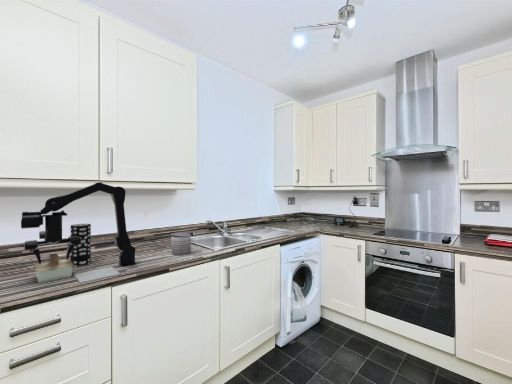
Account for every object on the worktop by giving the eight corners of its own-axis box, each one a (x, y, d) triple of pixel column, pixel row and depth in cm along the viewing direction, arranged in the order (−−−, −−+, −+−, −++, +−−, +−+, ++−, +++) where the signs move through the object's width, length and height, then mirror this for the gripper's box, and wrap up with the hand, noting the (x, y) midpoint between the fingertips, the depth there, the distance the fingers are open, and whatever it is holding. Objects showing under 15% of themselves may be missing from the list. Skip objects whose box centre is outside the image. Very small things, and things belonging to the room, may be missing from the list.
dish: (67, 270, 115) (67, 260, 115) (71, 276, 107) (71, 266, 107) (35, 276, 107) (35, 266, 107) (38, 283, 99) (38, 272, 99)
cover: (68, 260, 115) (68, 250, 115) (73, 266, 107) (73, 255, 107) (34, 266, 107) (34, 255, 107) (36, 272, 98) (36, 260, 98)
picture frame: (111, 267, 119) (111, 266, 119) (120, 274, 110) (120, 273, 110) (74, 275, 108) (74, 274, 108) (80, 283, 99) (80, 282, 99)
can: (176, 250, 153) (176, 231, 153) (194, 251, 152) (194, 232, 152) (167, 255, 142) (167, 234, 142) (186, 256, 140) (186, 235, 140)
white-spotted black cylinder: (94, 261, 129) (94, 223, 129) (83, 266, 121) (83, 226, 120) (78, 261, 129) (78, 223, 128) (66, 266, 120) (66, 226, 120)
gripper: (76, 222, 119) (76, 254, 119) (23, 226, 106) (23, 262, 106) (81, 225, 111) (81, 259, 111) (24, 229, 98) (24, 268, 98)
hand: (53, 262), depth 107 cm, fingers open, 9 cm apart
